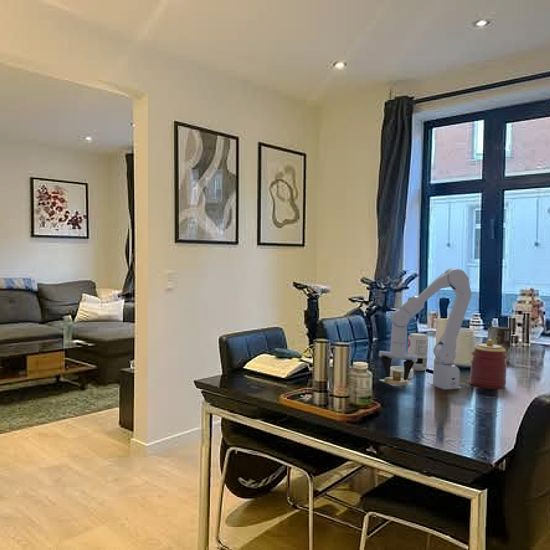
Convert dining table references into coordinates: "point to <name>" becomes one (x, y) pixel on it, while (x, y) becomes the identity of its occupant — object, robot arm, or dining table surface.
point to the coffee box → (501, 338)
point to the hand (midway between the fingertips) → (396, 377)
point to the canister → (488, 366)
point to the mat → (397, 385)
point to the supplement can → (418, 350)
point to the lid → (396, 379)
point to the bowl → (400, 368)
